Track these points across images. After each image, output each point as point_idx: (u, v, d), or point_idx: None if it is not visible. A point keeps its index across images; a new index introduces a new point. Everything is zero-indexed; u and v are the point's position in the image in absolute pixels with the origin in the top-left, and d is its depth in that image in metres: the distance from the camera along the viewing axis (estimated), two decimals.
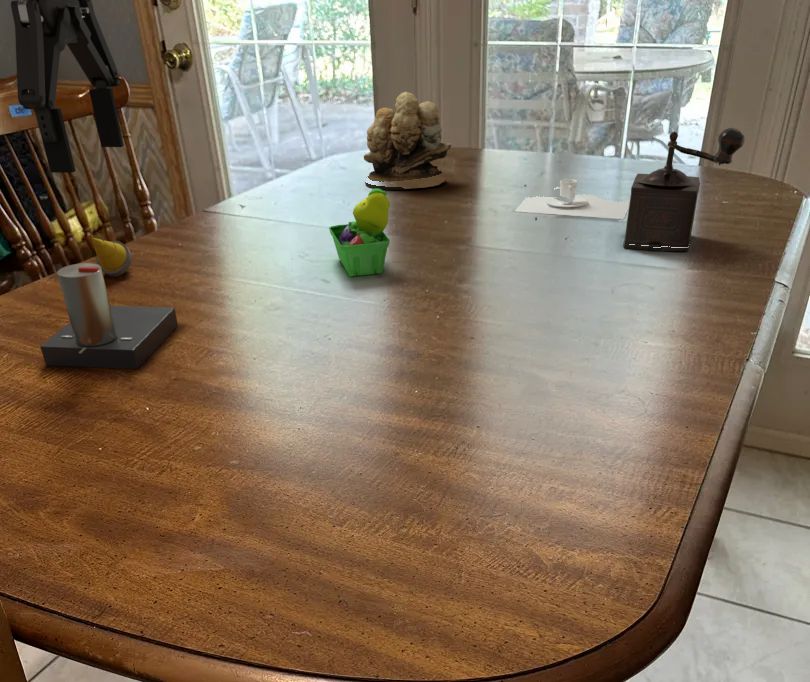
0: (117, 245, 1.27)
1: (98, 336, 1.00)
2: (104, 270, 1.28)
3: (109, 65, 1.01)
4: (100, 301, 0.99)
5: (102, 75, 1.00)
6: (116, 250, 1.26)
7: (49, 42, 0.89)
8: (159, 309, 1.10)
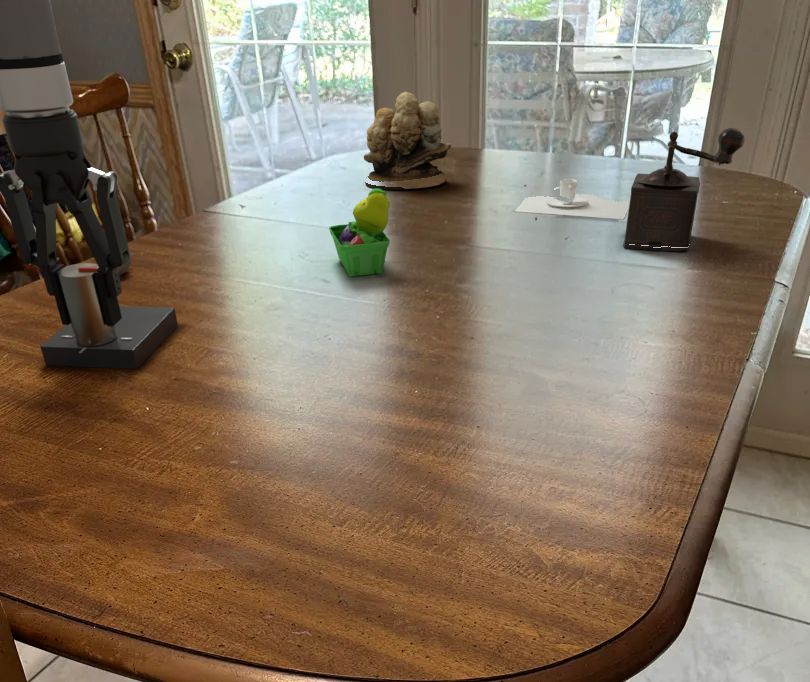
0: None
1: (98, 336, 1.00)
2: None
3: None
4: (100, 301, 0.99)
5: (55, 247, 0.97)
6: None
7: (88, 205, 0.94)
8: (159, 309, 1.10)
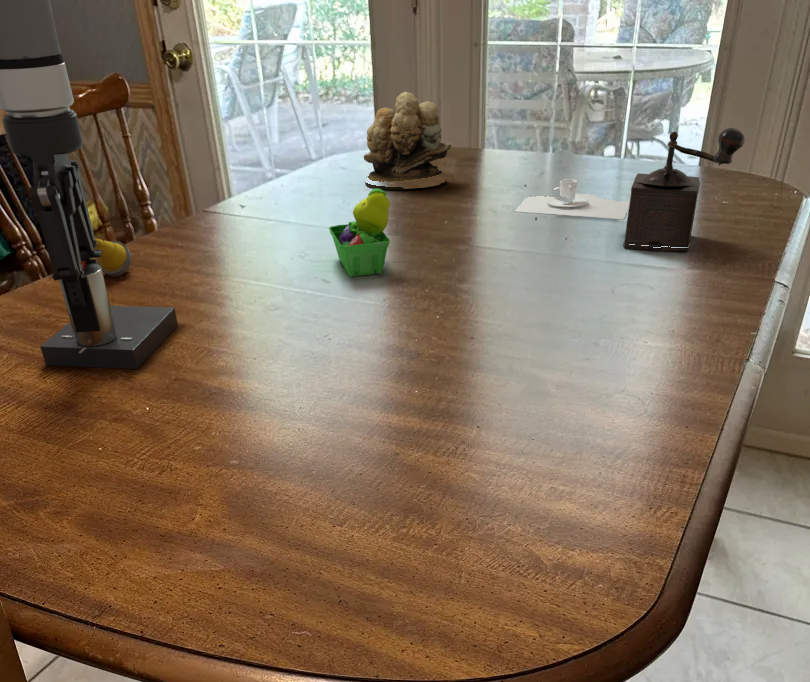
0: (117, 245, 1.27)
1: None
2: (104, 270, 1.28)
3: None
4: None
5: None
6: (116, 250, 1.26)
7: None
8: (159, 309, 1.10)
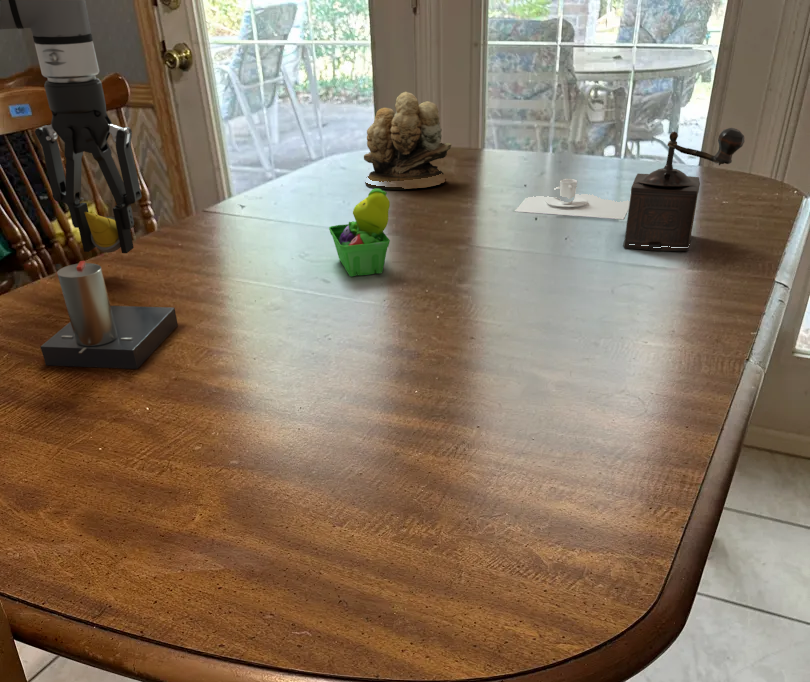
0: (111, 220, 1.25)
1: None
2: (98, 246, 1.26)
3: (125, 188, 1.20)
4: None
5: (112, 192, 1.21)
6: (110, 225, 1.24)
7: None
8: (159, 309, 1.10)
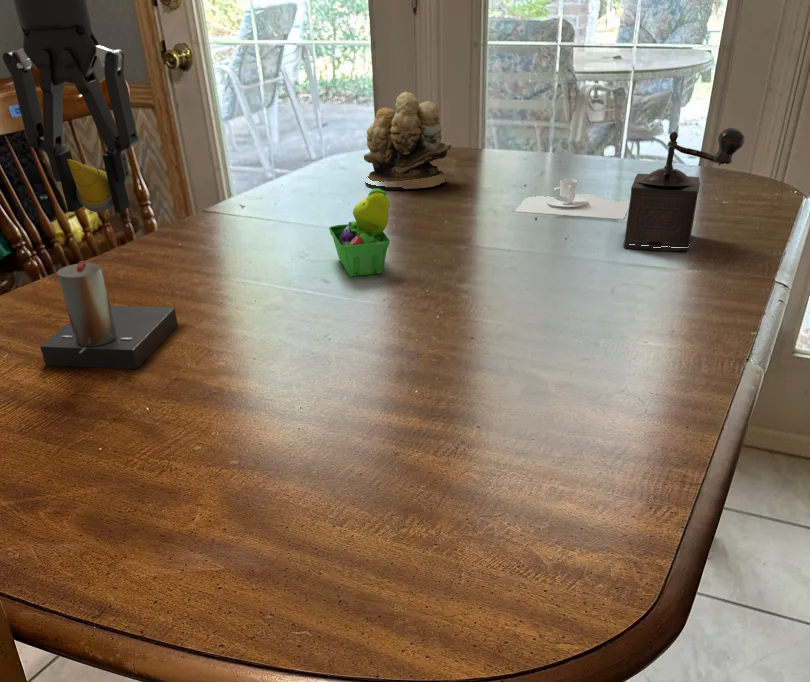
0: (101, 172, 1.01)
1: None
2: (86, 204, 1.02)
3: (117, 129, 0.96)
4: None
5: (102, 135, 0.97)
6: (100, 177, 1.00)
7: None
8: (159, 309, 1.10)
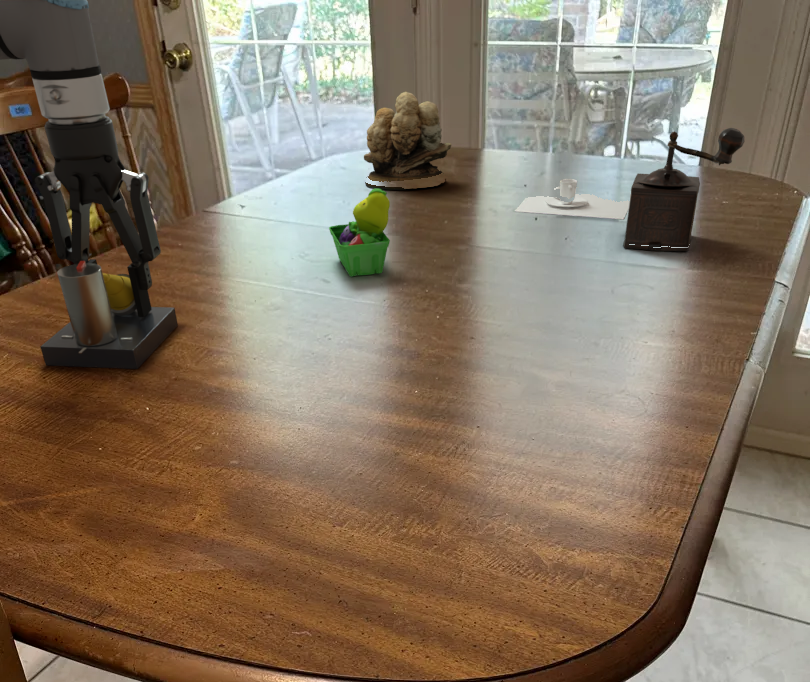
0: (125, 279, 1.07)
1: None
2: None
3: (142, 244, 1.02)
4: None
5: (127, 249, 1.03)
6: (124, 285, 1.06)
7: None
8: (159, 309, 1.10)
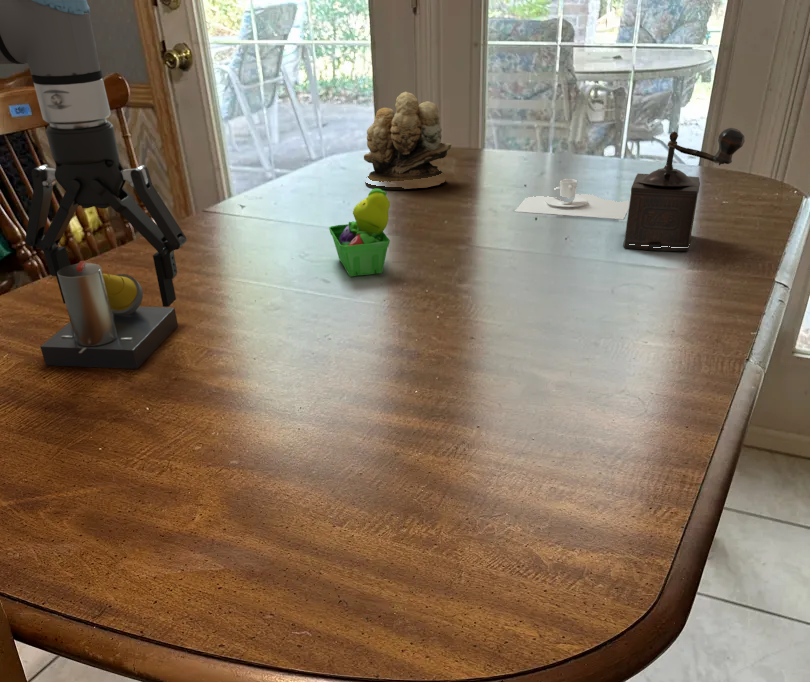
0: (126, 280, 1.07)
1: None
2: None
3: (164, 235, 1.01)
4: None
5: (150, 241, 1.02)
6: (124, 286, 1.06)
7: None
8: (159, 309, 1.10)
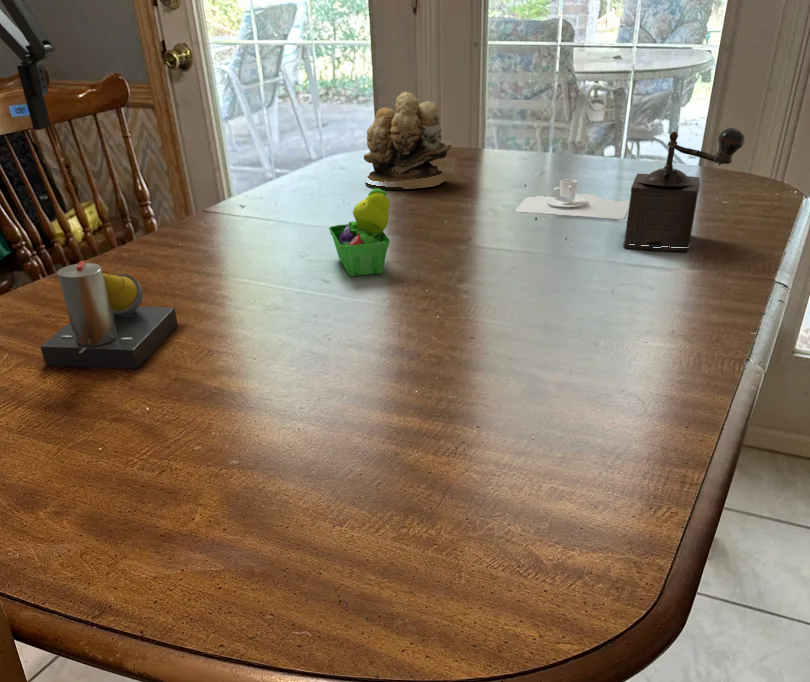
0: (126, 280, 1.07)
1: None
2: None
3: (28, 41, 0.91)
4: None
5: (13, 49, 0.92)
6: (124, 286, 1.06)
7: None
8: (159, 309, 1.10)
